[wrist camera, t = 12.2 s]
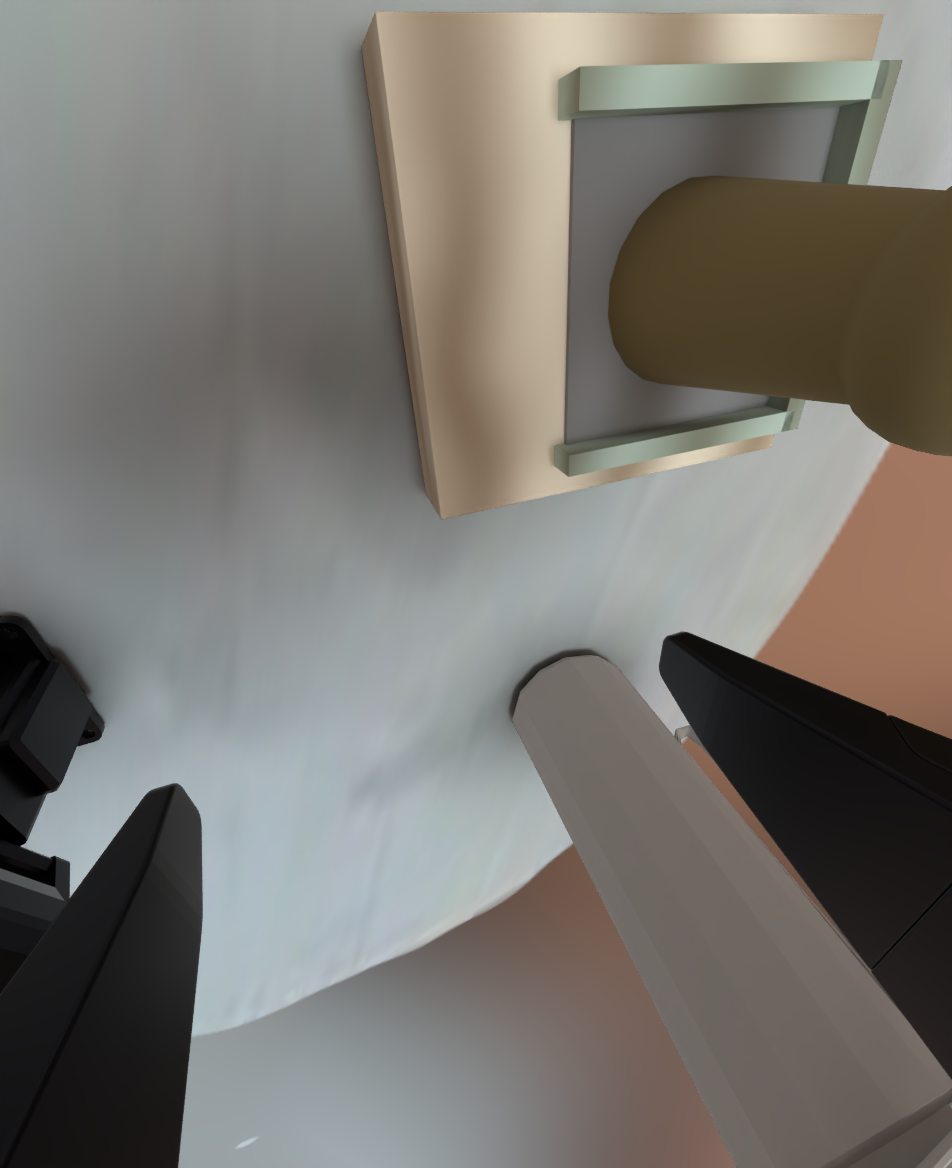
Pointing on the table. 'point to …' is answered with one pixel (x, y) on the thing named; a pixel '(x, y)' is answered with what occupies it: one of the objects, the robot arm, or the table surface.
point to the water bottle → (731, 943)
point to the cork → (796, 297)
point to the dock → (583, 219)
